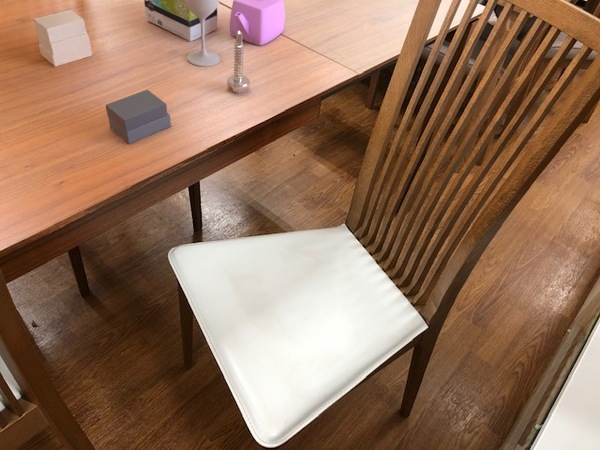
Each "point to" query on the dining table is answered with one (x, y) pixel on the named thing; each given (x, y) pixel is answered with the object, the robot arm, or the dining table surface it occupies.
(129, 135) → the grey stack
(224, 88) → the dining table surface
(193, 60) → the wineglass
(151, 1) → the tea box
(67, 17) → the white block
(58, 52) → the white stack
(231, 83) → the screw
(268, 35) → the teapot
